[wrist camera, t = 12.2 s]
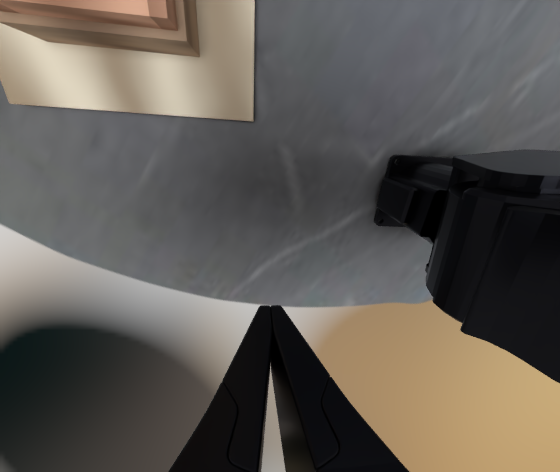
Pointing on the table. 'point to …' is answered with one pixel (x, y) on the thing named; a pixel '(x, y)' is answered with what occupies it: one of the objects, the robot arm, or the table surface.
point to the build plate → (131, 56)
